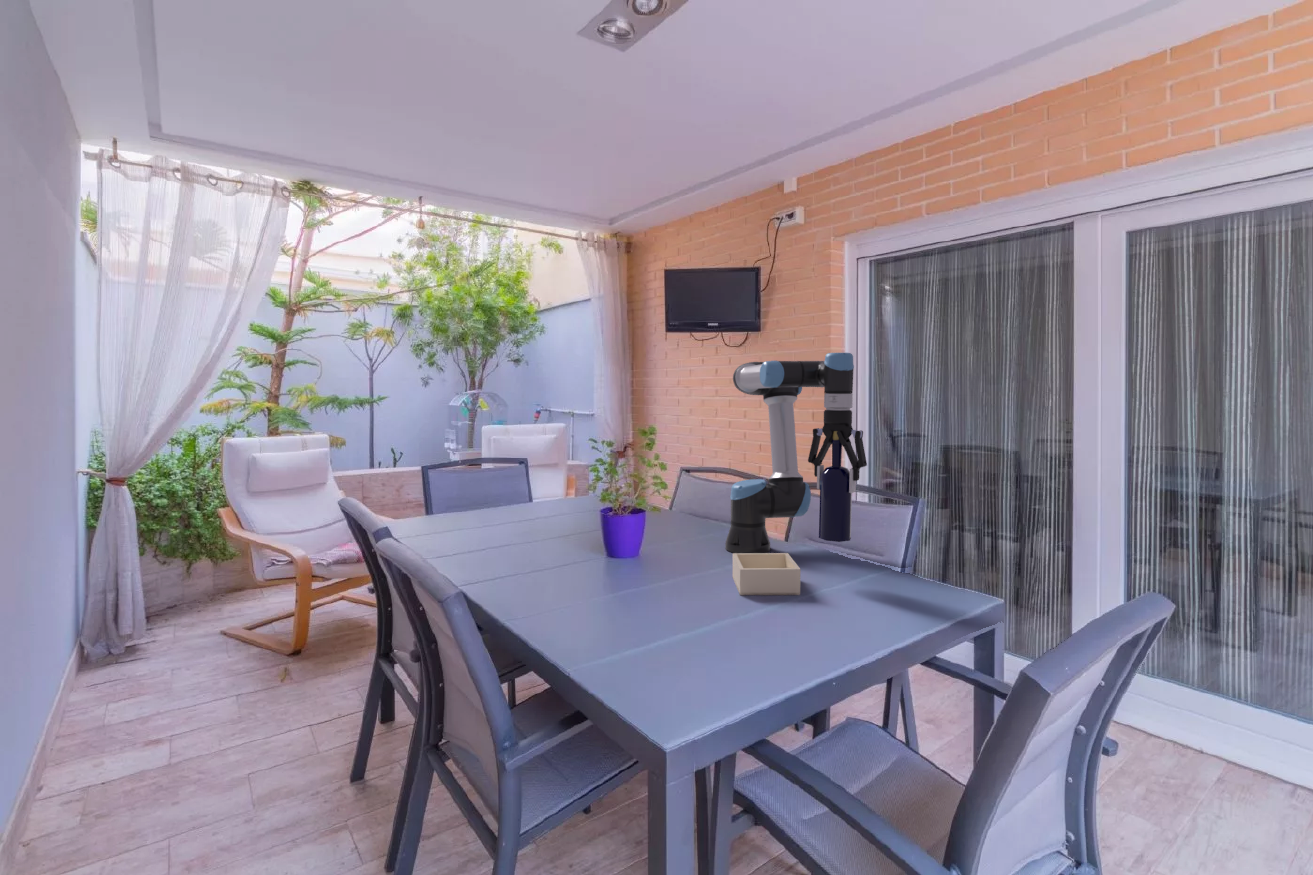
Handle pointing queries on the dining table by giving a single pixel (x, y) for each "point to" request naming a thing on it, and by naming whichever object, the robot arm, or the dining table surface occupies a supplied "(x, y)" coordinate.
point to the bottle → (835, 498)
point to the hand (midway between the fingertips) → (836, 490)
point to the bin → (766, 574)
